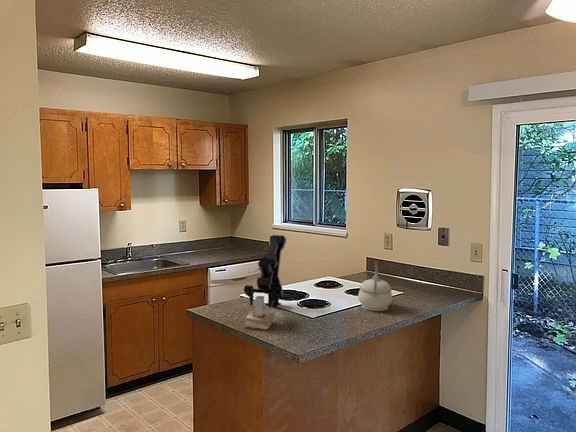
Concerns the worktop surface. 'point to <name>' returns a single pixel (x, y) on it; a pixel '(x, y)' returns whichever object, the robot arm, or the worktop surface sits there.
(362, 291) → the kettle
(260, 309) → the square bit
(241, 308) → the worktop surface
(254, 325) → the socket block
